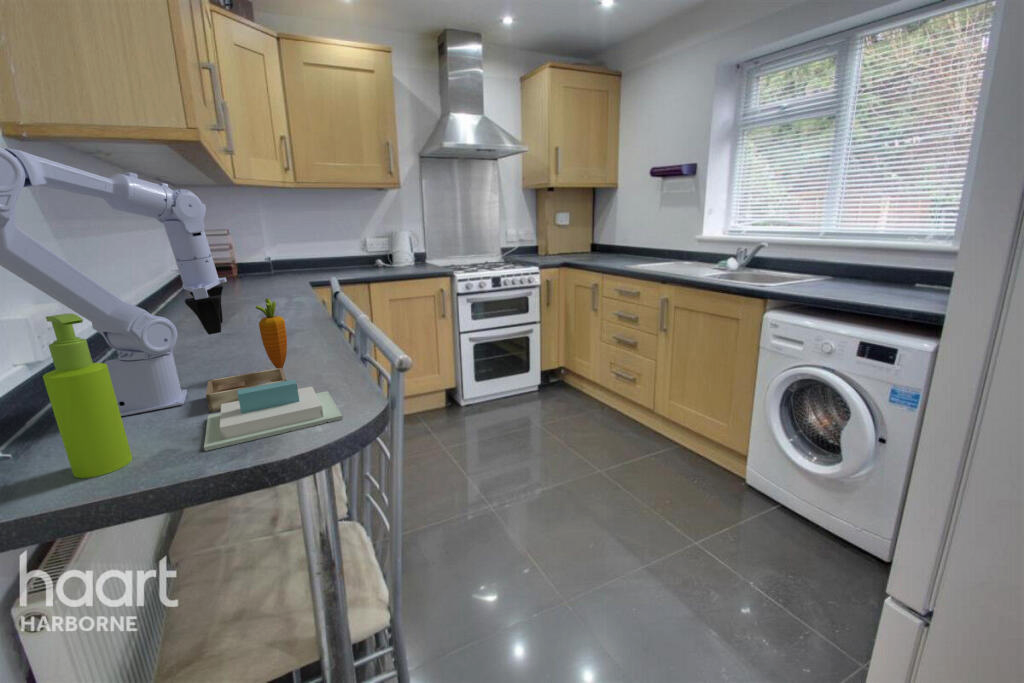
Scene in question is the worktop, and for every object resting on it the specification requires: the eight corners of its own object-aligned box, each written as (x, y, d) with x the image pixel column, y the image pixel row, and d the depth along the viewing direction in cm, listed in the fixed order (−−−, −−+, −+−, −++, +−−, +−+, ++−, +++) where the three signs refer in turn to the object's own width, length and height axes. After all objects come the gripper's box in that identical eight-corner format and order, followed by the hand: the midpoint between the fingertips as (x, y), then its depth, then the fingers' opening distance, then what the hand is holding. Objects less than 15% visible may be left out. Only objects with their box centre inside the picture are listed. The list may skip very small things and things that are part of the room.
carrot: (286, 373, 96) (273, 301, 92) (262, 374, 96) (248, 301, 92) (297, 366, 101) (285, 296, 97) (274, 366, 101) (262, 297, 97)
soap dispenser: (86, 485, 56) (36, 322, 51) (66, 471, 60) (17, 317, 55) (143, 463, 61) (103, 312, 56) (121, 451, 65) (81, 308, 60)
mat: (204, 451, 64) (204, 447, 63) (208, 418, 74) (208, 415, 74) (342, 419, 72) (342, 415, 72) (328, 394, 83) (327, 391, 83)
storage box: (209, 412, 77) (205, 395, 76) (211, 396, 85) (208, 380, 84) (289, 396, 83) (286, 380, 82) (284, 382, 90) (282, 367, 90)
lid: (222, 439, 66) (215, 407, 64) (223, 414, 74) (217, 386, 73) (323, 416, 72) (319, 387, 71) (313, 396, 81) (309, 369, 79)
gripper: (217, 259, 82) (238, 332, 87) (220, 250, 94) (239, 315, 99) (169, 265, 79) (194, 341, 83) (178, 256, 91) (200, 322, 96)
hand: (215, 328), depth 91 cm, fingers open, 7 cm apart
